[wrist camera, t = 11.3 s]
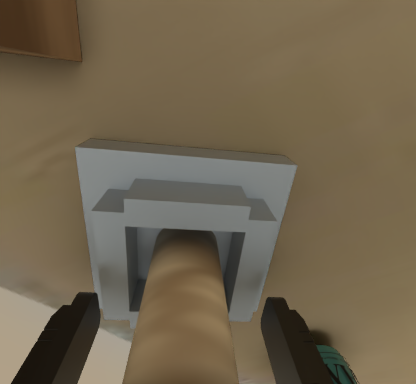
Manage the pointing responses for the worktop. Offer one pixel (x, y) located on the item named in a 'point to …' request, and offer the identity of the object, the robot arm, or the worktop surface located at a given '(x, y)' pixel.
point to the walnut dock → (40, 28)
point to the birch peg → (183, 315)
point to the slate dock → (179, 215)
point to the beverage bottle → (336, 365)
